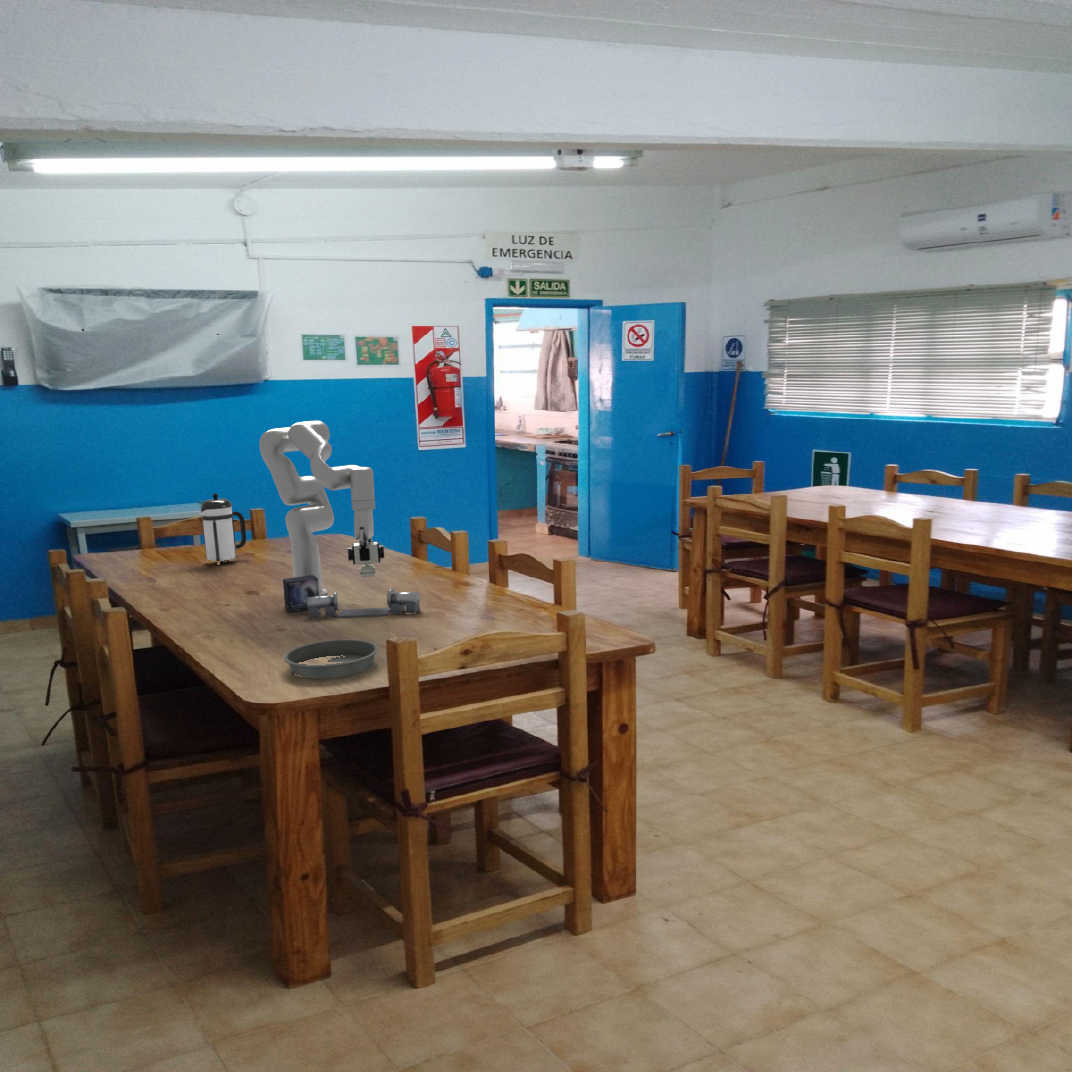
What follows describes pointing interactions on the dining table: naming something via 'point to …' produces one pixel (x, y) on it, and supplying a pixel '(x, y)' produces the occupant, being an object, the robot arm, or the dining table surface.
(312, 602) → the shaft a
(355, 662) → the cake pan
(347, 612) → the pad
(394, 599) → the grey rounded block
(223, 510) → the coffee press
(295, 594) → the small box
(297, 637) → the dining table surface
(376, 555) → the pneumatic valve
